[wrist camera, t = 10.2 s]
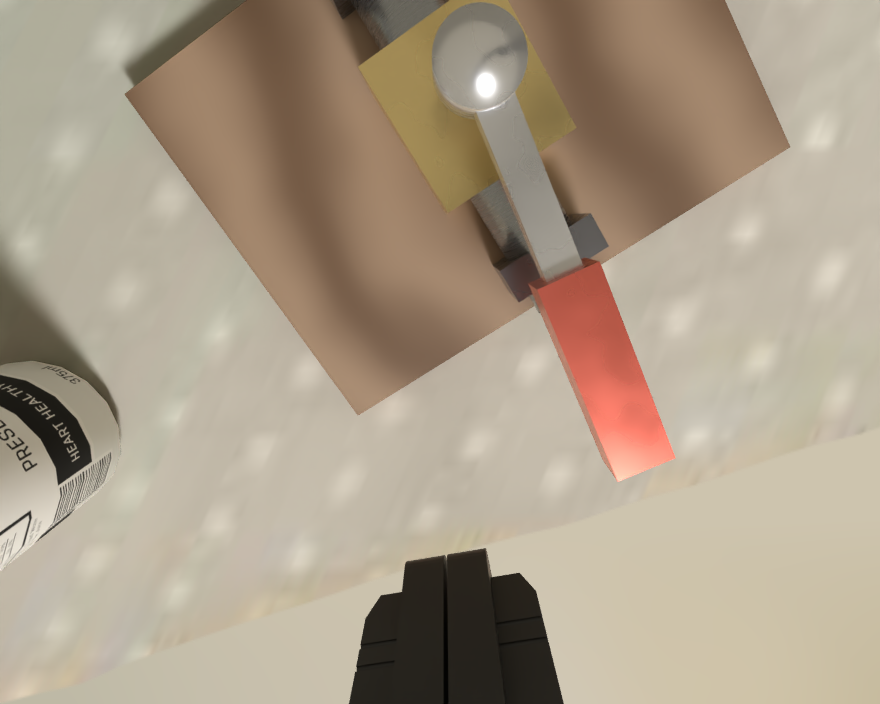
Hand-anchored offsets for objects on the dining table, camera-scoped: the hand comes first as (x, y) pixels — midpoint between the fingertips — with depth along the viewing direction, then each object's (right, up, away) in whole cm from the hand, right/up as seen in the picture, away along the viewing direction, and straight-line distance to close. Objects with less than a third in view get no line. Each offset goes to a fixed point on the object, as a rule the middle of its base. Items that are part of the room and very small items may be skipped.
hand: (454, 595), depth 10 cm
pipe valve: (+1, +15, +15) cm, 22 cm away
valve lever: (+3, +7, +7) cm, 11 cm away
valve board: (+1, +15, +15) cm, 22 cm away
